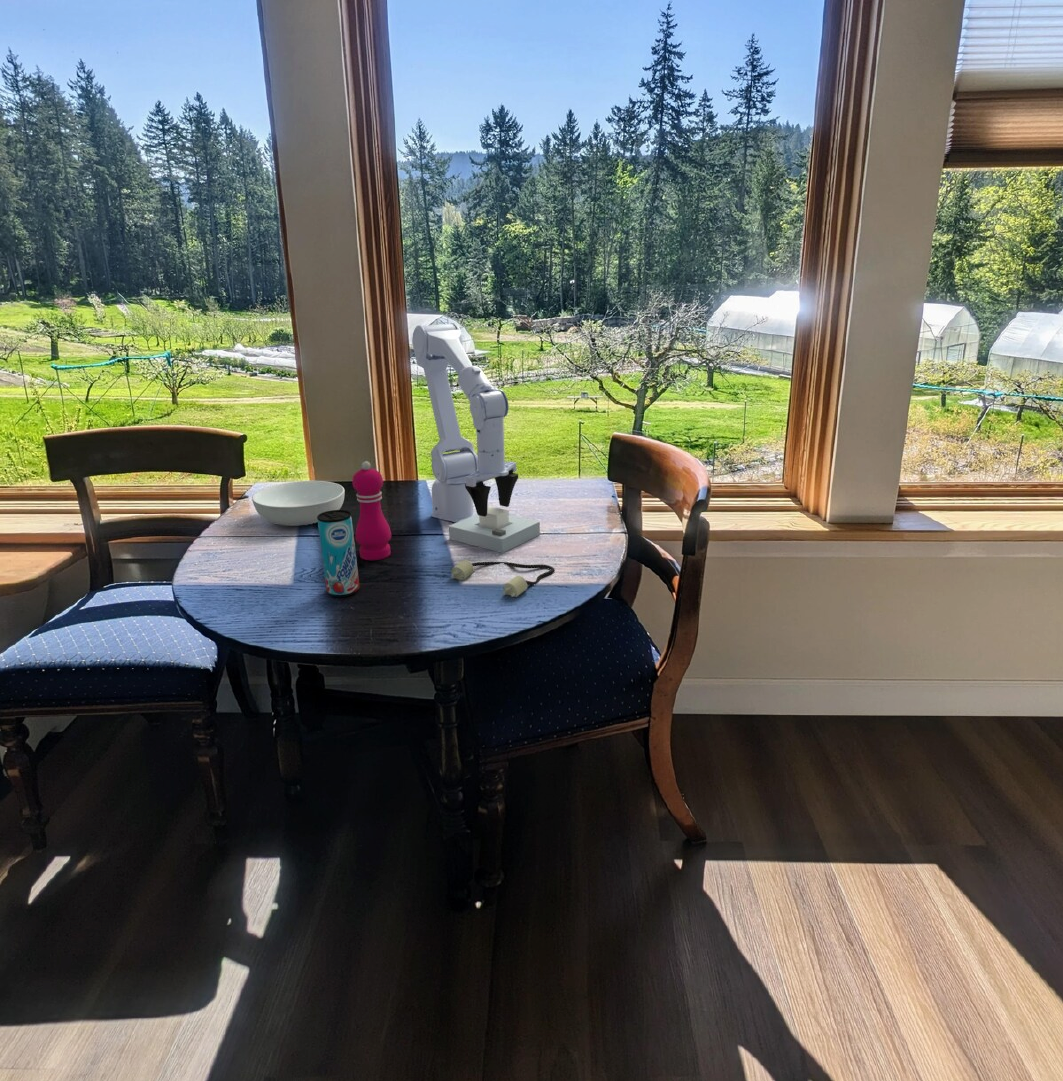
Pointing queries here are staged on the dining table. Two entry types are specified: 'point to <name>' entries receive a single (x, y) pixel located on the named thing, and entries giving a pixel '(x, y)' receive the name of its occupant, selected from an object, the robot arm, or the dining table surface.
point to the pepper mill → (371, 515)
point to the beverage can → (338, 553)
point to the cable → (512, 586)
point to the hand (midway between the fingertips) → (493, 510)
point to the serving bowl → (298, 501)
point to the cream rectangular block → (495, 518)
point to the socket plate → (494, 533)
